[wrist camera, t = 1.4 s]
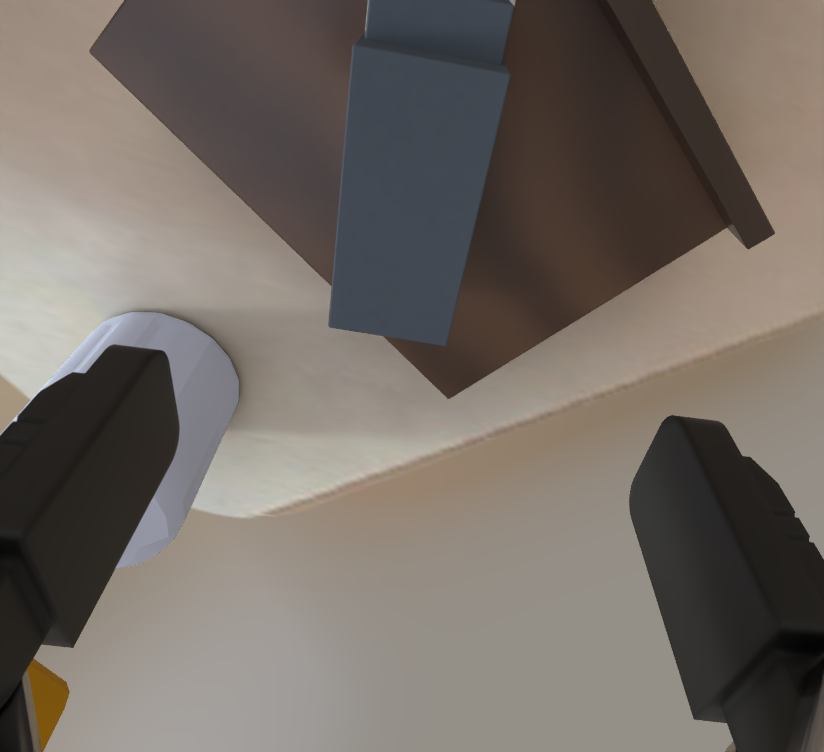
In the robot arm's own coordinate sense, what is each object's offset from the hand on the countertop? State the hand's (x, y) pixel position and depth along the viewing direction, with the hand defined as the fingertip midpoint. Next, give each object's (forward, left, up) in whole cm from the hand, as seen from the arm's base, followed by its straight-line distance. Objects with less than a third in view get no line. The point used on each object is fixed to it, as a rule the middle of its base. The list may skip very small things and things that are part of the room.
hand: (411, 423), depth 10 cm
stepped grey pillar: (0, 0, -15) cm, 15 cm away
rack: (+1, 0, -20) cm, 20 cm away
